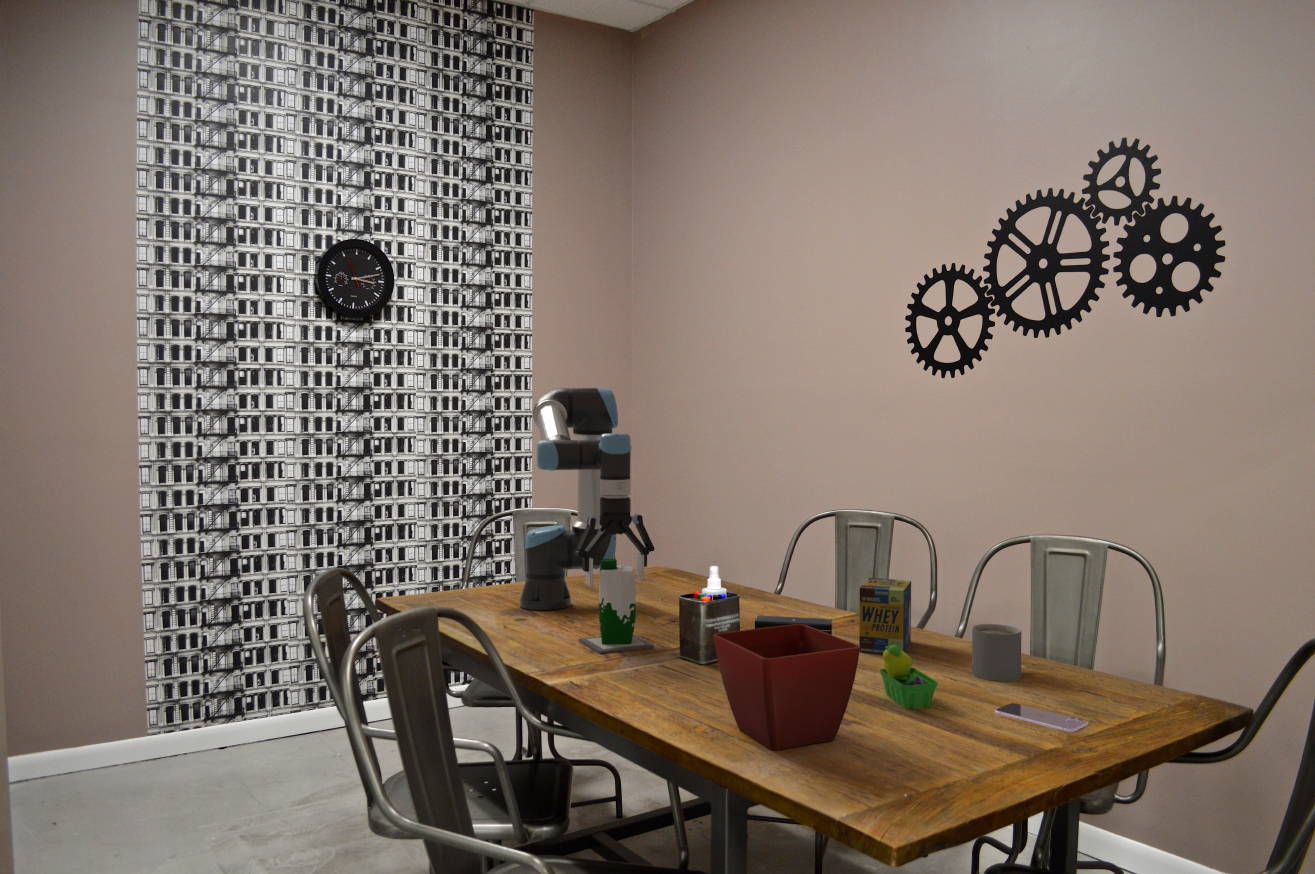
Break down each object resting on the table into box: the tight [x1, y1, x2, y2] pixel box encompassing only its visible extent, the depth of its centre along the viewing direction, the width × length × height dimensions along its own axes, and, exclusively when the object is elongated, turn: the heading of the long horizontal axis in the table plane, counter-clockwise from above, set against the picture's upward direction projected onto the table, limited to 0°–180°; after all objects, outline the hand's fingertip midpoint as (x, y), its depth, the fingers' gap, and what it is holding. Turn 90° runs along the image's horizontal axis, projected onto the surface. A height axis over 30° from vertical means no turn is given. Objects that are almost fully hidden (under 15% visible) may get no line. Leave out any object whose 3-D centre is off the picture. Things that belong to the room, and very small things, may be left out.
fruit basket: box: [879, 645, 938, 710], centre depth 181 cm, size 11×9×11 cm
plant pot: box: [713, 623, 861, 751], centre depth 161 cm, size 19×19×17 cm
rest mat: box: [578, 634, 654, 655], centre depth 227 cm, size 14×14×1 cm
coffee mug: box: [971, 623, 1022, 683], centre depth 200 cm, size 13×10×10 cm
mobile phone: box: [994, 702, 1089, 733], centre depth 171 cm, size 8×1×15 cm
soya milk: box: [598, 558, 637, 644], centre depth 227 cm, size 9×9×20 cm
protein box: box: [858, 577, 912, 655], centre depth 224 cm, size 10×15×16 cm
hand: (615, 582), depth 227 cm, fingers open, 13 cm apart
